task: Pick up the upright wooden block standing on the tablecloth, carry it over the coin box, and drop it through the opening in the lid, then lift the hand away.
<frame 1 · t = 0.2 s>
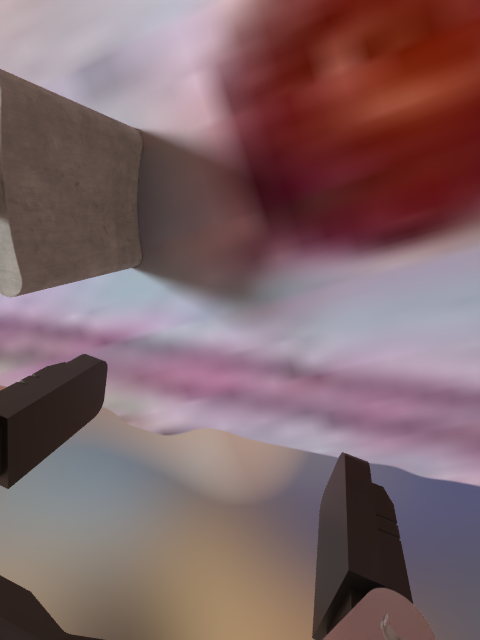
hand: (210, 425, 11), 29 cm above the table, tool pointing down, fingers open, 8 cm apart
hip flask: (128, 201, 41), on the table
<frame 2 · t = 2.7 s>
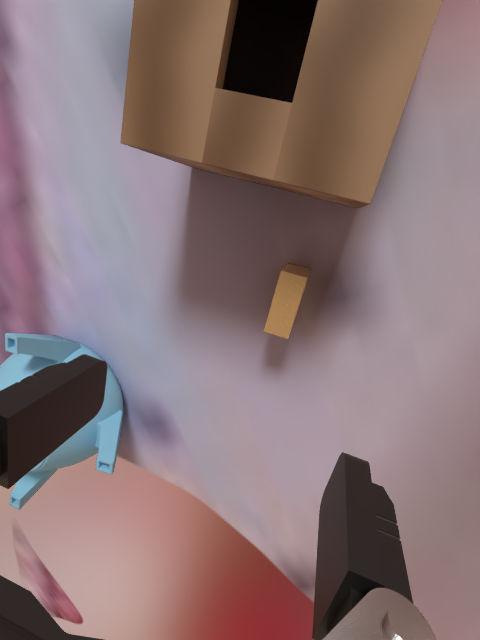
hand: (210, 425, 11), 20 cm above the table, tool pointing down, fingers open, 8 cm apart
teapot: (82, 388, 39), on the table
wooden block: (291, 294, 29), on the table
coin box: (296, 85, 24), on the table
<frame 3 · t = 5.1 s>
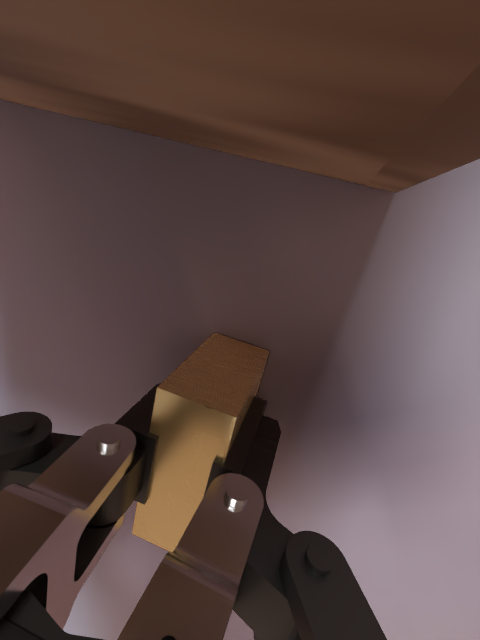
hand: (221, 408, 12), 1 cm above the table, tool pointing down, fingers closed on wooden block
wooden block: (225, 402, 12), on the table, touching gripper
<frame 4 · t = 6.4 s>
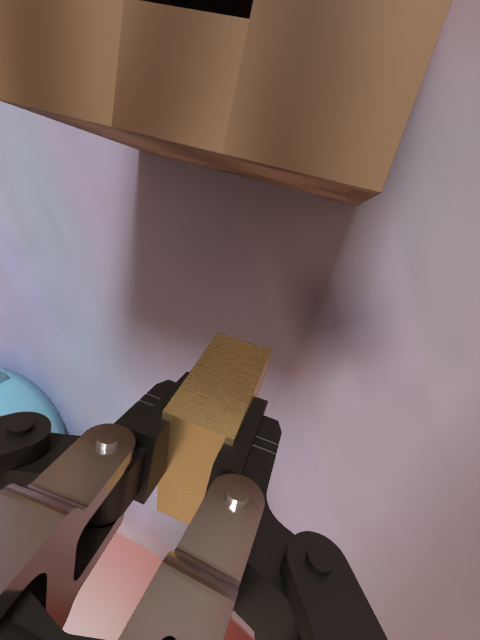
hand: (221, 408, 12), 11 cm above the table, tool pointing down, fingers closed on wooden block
teapot: (19, 424, 32), on the table
wooden block: (233, 391, 13), point 10 cm above the table, tilted 13°, touching gripper
coin box: (273, 36, 18), on the table
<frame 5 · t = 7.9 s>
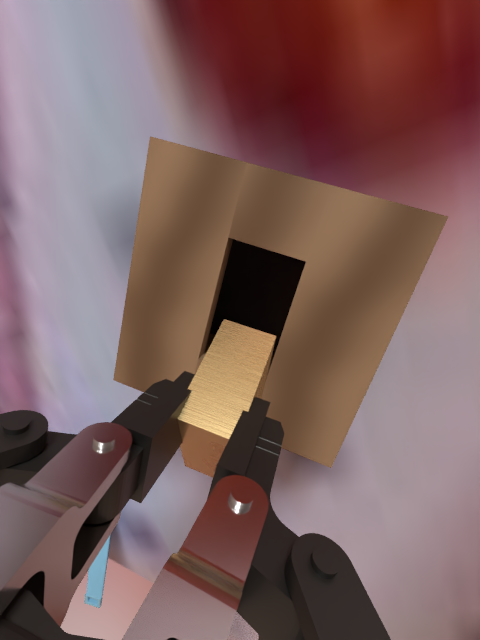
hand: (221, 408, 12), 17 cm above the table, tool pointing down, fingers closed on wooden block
teapot: (72, 495, 41), on the table
wooden block: (245, 363, 14), point 14 cm above the table, tilted 32°, touching gripper
coin box: (276, 281, 27), on the table
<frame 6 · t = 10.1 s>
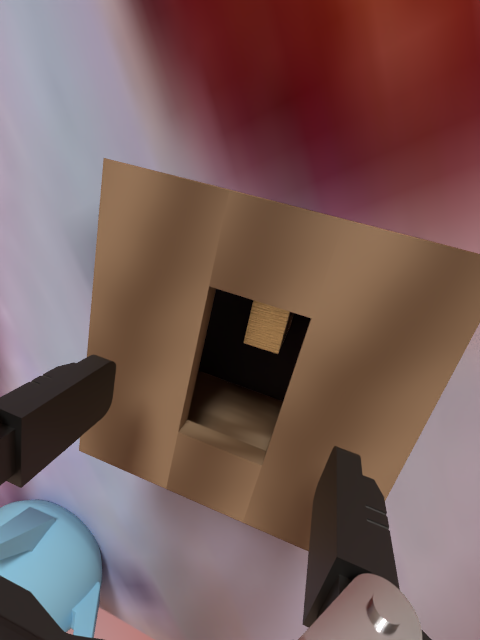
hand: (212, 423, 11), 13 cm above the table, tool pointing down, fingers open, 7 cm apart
teapot: (60, 541, 37), on the table
wooden block: (285, 271, 19), point 2 cm above the table, tilted 90°
coin box: (277, 315, 23), on the table
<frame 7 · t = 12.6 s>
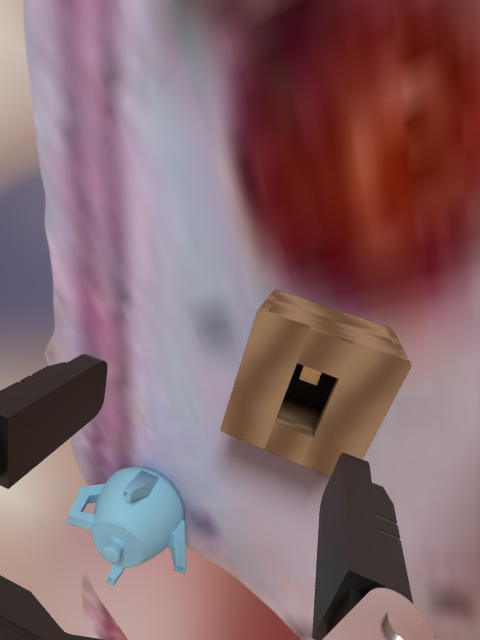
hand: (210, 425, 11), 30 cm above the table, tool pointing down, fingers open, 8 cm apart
teapot: (151, 495, 56), on the table
wooden block: (320, 342, 38), point 2 cm above the table, tilted 90°
coin box: (311, 360, 41), on the table
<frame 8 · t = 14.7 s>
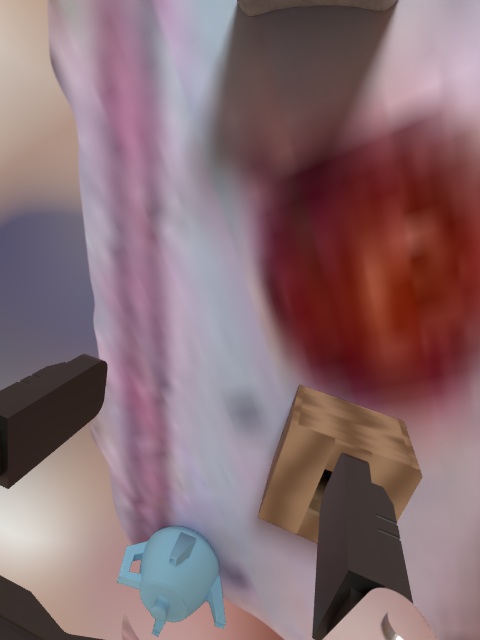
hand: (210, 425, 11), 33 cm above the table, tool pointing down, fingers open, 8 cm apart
teapot: (188, 550, 62), on the table
coin box: (333, 443, 47), on the table
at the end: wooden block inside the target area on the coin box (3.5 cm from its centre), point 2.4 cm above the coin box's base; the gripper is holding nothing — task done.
